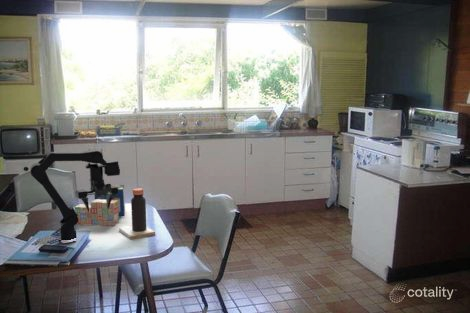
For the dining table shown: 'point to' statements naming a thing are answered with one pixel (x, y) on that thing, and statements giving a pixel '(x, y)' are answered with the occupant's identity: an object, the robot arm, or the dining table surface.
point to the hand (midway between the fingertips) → (98, 210)
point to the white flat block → (135, 235)
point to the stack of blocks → (98, 213)
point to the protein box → (119, 197)
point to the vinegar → (138, 210)
